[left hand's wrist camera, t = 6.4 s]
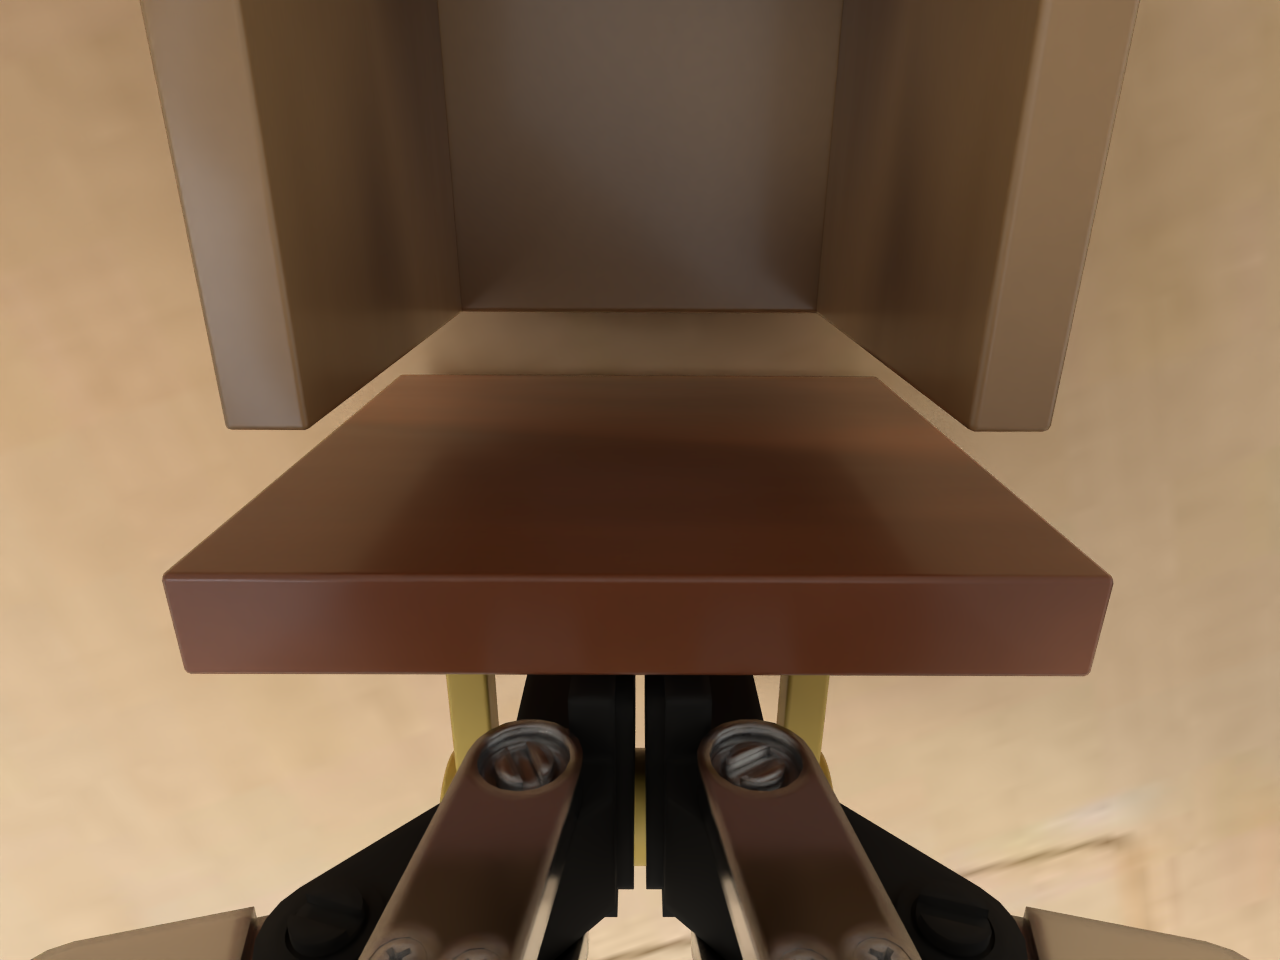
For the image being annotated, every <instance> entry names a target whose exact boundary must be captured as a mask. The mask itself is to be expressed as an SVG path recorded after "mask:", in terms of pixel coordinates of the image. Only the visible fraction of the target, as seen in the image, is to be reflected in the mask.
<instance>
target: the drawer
mask: <svg viewBox="0 0 1280 960" xmlns="http://www.w3.org/2000/svg"><path fill="white" fill-rule="evenodd" d="M1139 2H1140V0H140V4H141V9H142V14H143V19H144V24H145V29H146V34H147V39H148V44H149V49H150V53H151V58H152V63H153V68H154V73H155V78H156V83H157V88H158V93H159V98H160V103H161V108H162V113H163V118H164V123H165V128H166V133H167V137H168V142H169V147H170V152H171V157H172V162H173V167H174V172H175V177H176V182H177V187H178V192H179V197H180V202H181V207H182V212H183V216H184V221H185V226H186V231H187V236H188V241H189V246H190V251H191V256H192V261H193V266H194V271H195V276H196V281H197V286H198V291H199V295H200V300H201V305H202V310H203V315H204V320H205V325H206V330H207V335H208V340H209V345H210V350H211V355H212V360H213V365H214V370H215V375H216V379H217V384H218V389H219V394H220V399H221V404H222V409H223V414H224V419H225V424H226V426H227V428H228V429H232V430H306V429H308V428H310V427H311V426H312V425H314V424H315V423H316V422H318V421H319V420H320V419H322V418H323V417H324V416H325V415H327V414H328V413H329V412H331V411H332V410H333V409H335V408H336V407H337V406H339V405H340V404H341V403H342V402H344V401H345V400H346V399H348V398H349V397H350V396H352V395H353V394H354V393H356V392H357V391H358V390H359V389H361V388H362V387H363V386H365V385H366V384H367V383H369V382H370V381H371V380H373V379H374V378H375V377H377V376H378V375H379V374H380V373H382V372H383V371H384V370H386V369H387V368H388V367H390V366H391V365H392V364H394V363H395V362H396V361H397V360H399V359H400V358H401V357H403V356H404V355H405V354H407V353H408V352H409V351H411V350H412V349H413V348H414V347H416V346H417V345H418V344H420V343H421V342H422V341H424V340H425V339H426V338H428V337H429V336H430V335H431V334H433V333H434V332H435V331H437V330H438V329H439V328H441V327H442V326H443V325H445V324H446V323H447V322H448V321H450V320H451V319H452V318H454V317H455V316H456V315H458V314H459V313H460V312H699V313H818V314H819V315H821V316H822V317H823V318H825V319H826V320H827V321H828V322H830V323H831V324H832V325H834V326H835V327H836V328H838V329H839V330H840V331H841V332H843V333H844V334H845V335H847V336H848V337H849V338H851V339H852V340H853V341H855V342H856V343H857V344H858V345H860V346H861V347H862V348H864V349H865V350H866V351H868V352H869V353H870V354H871V355H873V356H874V357H875V358H877V359H878V360H879V361H881V362H882V363H883V364H884V365H886V366H887V367H888V368H890V369H891V370H892V371H894V372H895V373H896V374H898V375H899V376H900V377H901V378H903V379H904V380H905V381H907V382H908V383H909V384H911V385H912V386H913V387H914V388H916V389H917V390H918V391H920V392H921V393H922V394H924V395H925V396H926V397H928V398H929V399H930V400H931V401H933V402H934V403H935V404H937V405H938V406H939V407H941V408H942V409H943V410H944V411H946V412H947V413H948V414H950V415H951V416H952V417H954V418H955V419H956V420H958V421H959V422H960V423H961V424H963V425H964V426H965V427H967V428H968V429H970V430H972V431H974V432H1041V431H1045V430H1048V429H1049V427H1050V426H1051V421H1052V417H1053V412H1054V407H1055V402H1056V397H1057V393H1058V388H1059V383H1060V378H1061V374H1062V369H1063V364H1064V359H1065V355H1066V350H1067V345H1068V340H1069V336H1070V331H1071V326H1072V321H1073V316H1074V312H1075V307H1076V302H1077V297H1078V293H1079V288H1080V283H1081V278H1082V274H1083V269H1084V264H1085V259H1086V255H1087V250H1088V245H1089V240H1090V235H1091V231H1092V226H1093V221H1094V216H1095V212H1096V207H1097V202H1098V197H1099V193H1100V188H1101V183H1102V178H1103V174H1104V169H1105V164H1106V159H1107V154H1108V150H1109V145H1110V140H1111V135H1112V131H1113V126H1114V121H1115V116H1116V112H1117V107H1118V102H1119V97H1120V93H1121V88H1122V83H1123V78H1124V73H1125V69H1126V64H1127V59H1128V54H1129V50H1130V45H1131V40H1132V35H1133V31H1134V26H1135V21H1136V16H1137V12H1138V7H1139ZM162 582H163V586H164V590H165V594H166V598H167V602H168V605H169V609H170V613H171V617H172V621H173V625H174V629H175V633H176V637H177V641H178V645H179V649H180V653H181V657H182V661H183V665H184V668H185V670H186V672H188V673H191V674H446V679H447V689H448V698H449V708H450V717H451V727H452V736H453V746H454V751H453V753H452V754H451V756H450V759H449V761H448V764H447V767H446V770H445V774H444V779H443V784H442V790H441V797H440V803H441V801H442V799H443V797H444V795H445V793H446V791H447V790H448V788H449V786H450V784H451V782H452V780H453V778H454V776H455V774H456V772H457V771H458V769H459V767H460V765H461V763H462V761H463V759H464V757H465V755H466V753H467V751H468V750H469V749H470V747H471V746H472V745H473V744H474V742H475V741H476V740H477V739H478V738H479V737H481V736H482V735H483V734H485V733H486V732H488V731H489V730H491V729H493V728H495V727H498V726H499V722H498V709H497V696H496V683H495V674H516V675H781V678H780V690H779V701H778V713H777V724H778V725H780V726H782V727H785V728H787V729H789V730H791V731H792V732H794V733H795V734H797V735H798V736H799V737H801V738H802V739H803V740H804V741H805V742H806V744H807V745H808V746H809V747H810V749H811V750H812V751H813V753H814V755H815V757H816V759H817V761H818V763H819V765H820V767H821V769H822V771H823V772H824V774H825V776H826V778H827V780H828V782H829V784H830V786H831V788H832V790H833V787H832V782H831V777H830V773H829V769H828V766H827V763H826V760H825V758H824V756H823V754H822V752H821V746H822V737H823V729H824V720H825V711H826V702H827V693H828V685H829V676H830V675H871V676H1086V675H1088V674H1089V673H1090V671H1091V667H1092V663H1093V659H1094V655H1095V652H1096V648H1097V644H1098V640H1099V636H1100V632H1101V629H1102V625H1103V621H1104V617H1105V613H1106V610H1107V606H1108V602H1109V598H1110V594H1111V590H1112V587H1113V579H1112V577H1111V576H1110V575H1109V574H1108V573H1107V572H1106V571H1104V570H1103V569H1102V568H1101V567H1100V566H1099V565H1097V564H1096V563H1095V562H1094V561H1093V560H1091V559H1090V558H1089V557H1088V556H1087V555H1086V554H1084V553H1083V552H1082V551H1081V550H1080V549H1078V548H1077V547H1076V546H1075V545H1074V544H1073V543H1071V542H1070V541H1069V540H1068V539H1067V538H1065V537H1064V536H1063V535H1062V534H1061V533H1060V532H1058V531H1057V530H1056V529H1055V528H1054V527H1052V526H1051V525H1050V524H1049V523H1048V522H1047V521H1045V520H1044V519H1043V518H1042V517H1041V516H1039V515H1038V514H1037V513H1036V512H1035V511H1034V510H1032V509H1031V508H1030V507H1029V506H1028V505H1027V504H1025V503H1024V502H1023V501H1022V500H1021V499H1019V498H1018V497H1017V496H1016V495H1015V494H1014V493H1012V492H1011V491H1010V490H1009V489H1008V488H1006V487H1005V486H1004V485H1003V484H1002V483H1001V482H999V481H998V480H997V479H996V478H995V477H993V476H992V475H991V474H990V473H989V472H988V471H986V470H985V469H984V468H983V467H982V466H980V465H979V464H978V463H977V462H976V461H975V460H973V459H972V458H971V457H970V456H969V455H967V454H966V453H965V452H964V451H963V450H962V449H960V448H959V447H958V446H957V445H956V444H954V443H953V442H952V441H951V440H950V439H949V438H947V437H946V436H945V435H944V434H943V433H942V432H940V431H939V430H938V429H937V428H936V427H934V426H933V425H932V424H931V423H930V422H929V421H927V420H926V419H925V418H924V417H923V416H921V415H920V414H919V413H918V412H917V411H916V410H914V409H913V408H912V407H911V406H910V405H908V404H907V403H906V402H905V401H904V400H903V399H901V398H900V397H899V396H898V395H897V394H895V393H894V392H893V391H892V390H891V389H890V388H888V387H887V386H886V385H885V384H884V383H882V382H881V381H880V380H879V379H878V378H876V377H823V376H571V375H401V376H399V377H398V378H397V379H396V380H395V381H393V382H392V383H391V384H390V385H389V386H387V387H386V388H385V389H384V390H383V391H381V392H380V393H379V394H378V395H377V396H375V397H374V398H373V399H372V400H371V401H369V402H368V403H367V404H366V405H365V406H364V407H362V408H361V409H360V410H359V411H358V412H356V413H355V414H354V415H353V416H352V417H350V418H349V419H348V420H347V421H346V422H344V423H343V424H342V425H341V426H340V427H338V428H337V429H336V430H335V431H334V432H332V433H331V434H330V435H329V436H328V437H326V438H325V439H324V440H323V441H322V442H321V443H319V444H318V445H317V446H316V447H315V448H313V449H312V450H311V451H310V452H309V453H307V454H306V455H305V456H304V457H303V458H301V459H300V460H299V461H298V462H297V463H295V464H294V465H293V466H292V467H291V468H289V469H288V470H287V471H286V472H285V473H283V474H282V475H281V476H280V477H279V478H278V479H276V480H275V481H274V482H273V483H272V484H270V485H269V486H268V487H267V488H266V489H264V490H263V491H262V492H261V493H260V494H258V495H257V496H256V497H255V498H254V499H252V500H251V501H250V502H249V503H248V504H246V505H245V506H244V507H243V508H242V509H240V510H239V511H238V512H237V513H236V514H234V515H233V516H232V517H231V518H230V519H229V520H227V521H226V522H225V523H224V524H223V525H221V526H220V527H219V528H218V529H217V530H215V531H214V532H213V533H212V534H211V535H209V536H208V537H207V538H206V539H205V540H203V541H202V542H201V543H200V544H199V545H197V546H196V547H195V548H194V549H193V550H191V551H190V552H189V553H188V554H187V555H186V556H184V557H183V558H182V559H181V560H180V561H178V562H177V563H176V564H175V565H174V566H172V567H171V568H170V569H169V570H168V571H166V572H165V573H164V575H163V579H162ZM634 866H646V798H645V748H635V810H634Z"/></svg>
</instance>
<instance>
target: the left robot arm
mask: <svg viewBox="0 0 1280 960" xmlns="http://www.w3.org/2000/svg"><path fill="white" fill-rule="evenodd" d="M645 798H646V889H662V908H663V917H676V918H677V919H678V920H679V921H681V922H682V923H683V924H684V925H685V926H686V927H688V928H689V929H690V930H691V949H692V958H693V960H1249V959H1247V958H1245V957H1244V956H1242V955H1240V954H1238V953H1237V952H1235V951H1233V950H1230V949H1227V948H1224V947H1221V946H1218V945H1215V944H1212V943H1209V942H1206V941H1201V940H1196V939H1190V938H1185V937H1180V936H1175V935H1170V934H1165V933H1160V932H1154V931H1149V930H1144V929H1139V928H1134V927H1129V926H1124V925H1118V924H1113V923H1108V922H1103V921H1098V920H1093V919H1088V918H1082V917H1077V916H1072V915H1067V914H1062V913H1057V912H1052V911H1046V910H1041V909H1036V908H1031V907H1026V909H1025V913H1024V917H1023V918H1022V917H1017V916H1012V915H1010V913H1009V912H1008V911H1007V910H1006V909H1005V908H1004V907H1003V906H1002V904H1001V903H1000V902H999V901H997V900H996V899H995V898H993V897H992V896H991V895H989V894H988V893H987V892H985V891H984V890H983V889H981V888H980V887H978V886H977V885H975V884H973V883H972V882H970V881H968V880H967V879H965V878H963V877H962V876H960V875H958V874H957V873H955V872H954V871H952V870H950V869H949V868H947V867H945V866H944V865H942V864H940V863H939V862H937V861H935V860H934V859H932V858H930V857H929V856H927V855H925V854H924V853H922V852H920V851H919V850H917V849H915V848H914V847H912V846H910V845H909V844H907V843H905V842H904V841H902V840H900V839H899V838H897V837H895V836H894V835H892V834H890V833H889V832H887V831H885V830H884V829H882V828H881V827H879V826H877V825H876V824H874V823H872V822H871V821H869V820H867V819H866V818H864V817H862V816H861V815H859V814H857V813H856V812H854V811H852V810H851V809H849V808H847V807H846V806H844V805H842V804H841V803H839V801H838V799H837V797H836V795H835V793H834V791H833V790H832V788H831V786H830V784H829V782H828V780H827V778H826V776H825V774H824V772H823V771H822V769H821V767H820V765H819V763H818V761H817V759H816V757H815V755H814V753H813V751H812V750H811V749H810V747H809V746H808V745H807V744H806V742H805V741H804V740H803V739H802V738H801V737H799V736H798V735H797V734H795V733H794V732H792V731H791V730H789V729H787V728H785V727H782V726H780V725H778V724H775V723H771V722H767V721H763V716H762V712H761V708H760V703H759V699H758V695H757V690H756V686H755V682H754V678H753V675H645ZM634 810H635V675H527V678H526V682H525V687H524V691H523V695H522V700H521V704H520V708H519V713H518V717H517V721H513V722H509V723H505V724H502V725H500V726H498V727H495V728H493V729H491V730H489V731H488V732H486V733H485V734H483V735H482V736H481V737H479V738H478V739H477V740H476V741H475V742H474V744H473V745H472V746H471V747H470V749H469V750H468V751H467V753H466V755H465V757H464V759H463V761H462V763H461V765H460V767H459V769H458V771H457V772H456V774H455V776H454V778H453V780H452V782H451V784H450V786H449V788H448V790H447V791H446V793H445V795H444V797H443V799H442V801H441V803H439V804H438V805H436V806H434V807H433V808H431V809H430V810H428V811H426V812H425V813H423V814H421V815H420V816H418V817H416V818H415V819H413V820H411V821H410V822H408V823H406V824H405V825H403V826H401V827H400V828H398V829H396V830H395V831H393V832H391V833H390V834H388V835H386V836H385V837H383V838H381V839H380V840H378V841H376V842H375V843H373V844H371V845H370V846H368V847H366V848H365V849H363V850H361V851H360V852H358V853H356V854H355V855H353V856H351V857H350V858H348V859H347V860H345V861H343V862H342V863H340V864H338V865H337V866H335V867H333V868H332V869H330V870H328V871H327V872H325V873H323V874H322V875H320V876H318V877H317V878H315V879H313V880H312V881H310V882H308V883H307V884H305V885H303V886H302V887H300V888H299V889H297V890H296V891H295V892H293V893H292V894H291V895H289V896H288V897H287V898H285V899H284V900H283V901H281V902H280V903H279V904H278V906H277V907H276V908H275V909H274V910H273V911H272V912H271V914H270V915H268V916H263V917H258V918H257V917H256V913H255V909H254V907H249V908H244V909H239V910H234V911H229V912H223V913H218V914H213V915H208V916H203V917H198V918H192V919H187V920H182V921H177V922H172V923H167V924H162V925H156V926H151V927H146V928H141V929H136V930H131V931H126V932H120V933H115V934H110V935H105V936H100V937H95V938H90V939H84V940H79V941H74V942H71V943H68V944H65V945H62V946H59V947H56V948H53V949H50V950H47V951H45V952H43V953H42V954H40V955H38V956H36V957H35V958H33V959H31V960H587V958H588V949H589V930H590V929H591V928H593V927H594V926H595V925H596V924H597V923H598V922H600V921H601V920H602V919H603V918H604V917H617V911H618V889H634Z"/></svg>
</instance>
